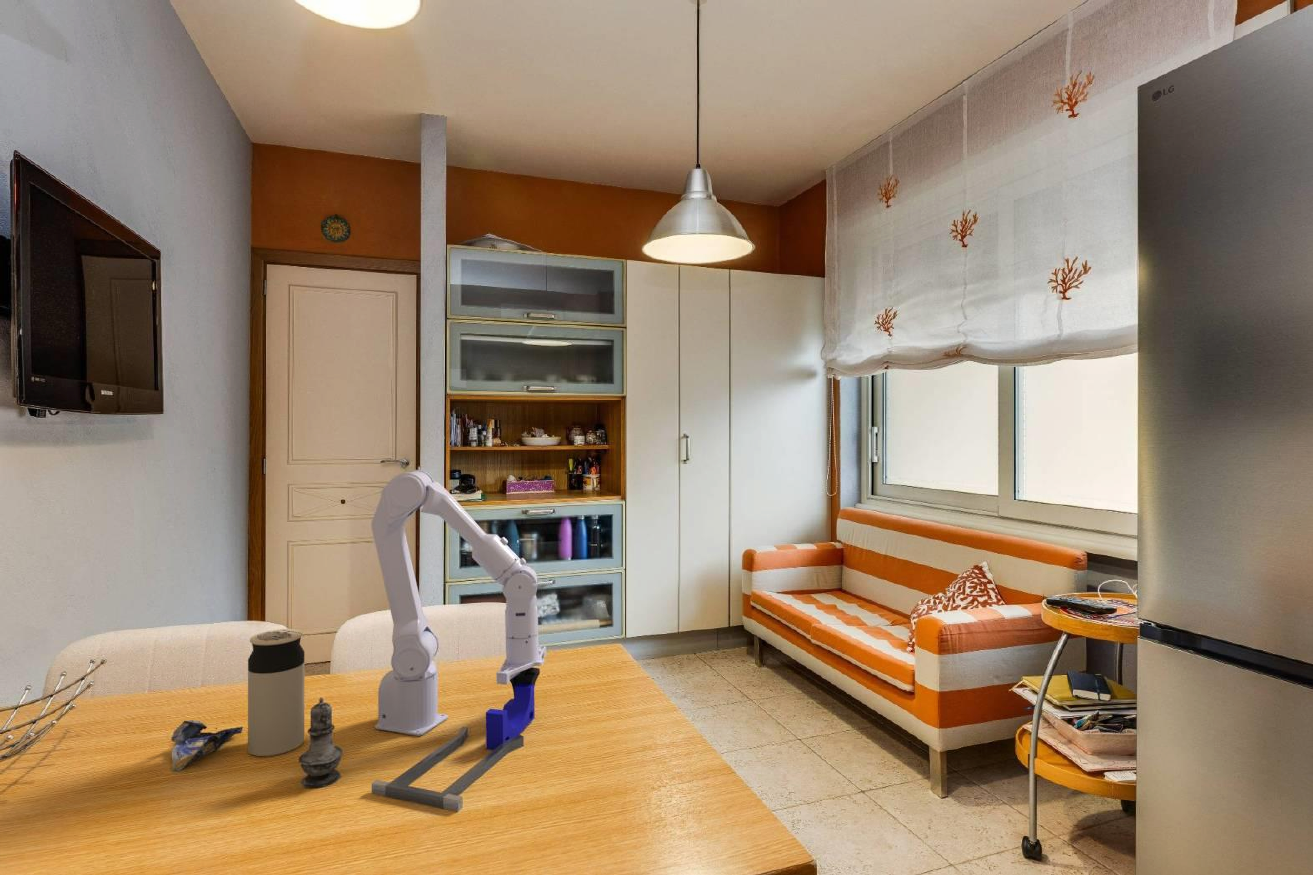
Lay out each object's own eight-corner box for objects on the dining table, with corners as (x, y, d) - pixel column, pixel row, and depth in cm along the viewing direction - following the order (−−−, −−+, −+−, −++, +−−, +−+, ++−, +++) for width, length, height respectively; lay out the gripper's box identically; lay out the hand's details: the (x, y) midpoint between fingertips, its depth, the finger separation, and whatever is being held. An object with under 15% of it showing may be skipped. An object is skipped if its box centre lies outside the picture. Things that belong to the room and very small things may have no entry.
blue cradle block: (511, 715, 120) (510, 682, 120) (534, 717, 119) (534, 684, 119) (477, 748, 108) (477, 711, 108) (503, 751, 107) (502, 714, 107)
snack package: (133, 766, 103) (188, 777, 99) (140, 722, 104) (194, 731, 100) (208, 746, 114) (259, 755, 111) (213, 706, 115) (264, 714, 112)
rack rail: (371, 793, 95) (371, 783, 95) (456, 733, 114) (456, 724, 114) (458, 811, 90) (458, 800, 90) (531, 745, 109) (531, 736, 109)
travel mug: (264, 762, 103) (264, 645, 103) (237, 749, 108) (238, 637, 108) (314, 742, 110) (314, 633, 110) (287, 731, 114) (287, 625, 114)
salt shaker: (298, 793, 95) (298, 708, 95) (298, 774, 100) (298, 693, 100) (344, 783, 97) (344, 700, 97) (342, 765, 103) (342, 687, 103)
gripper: (522, 648, 112) (524, 729, 112) (560, 624, 126) (561, 696, 126) (484, 645, 114) (486, 725, 114) (526, 621, 128) (528, 692, 128)
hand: (523, 709), depth 120 cm, fingers closed, pressing on blue cradle block
